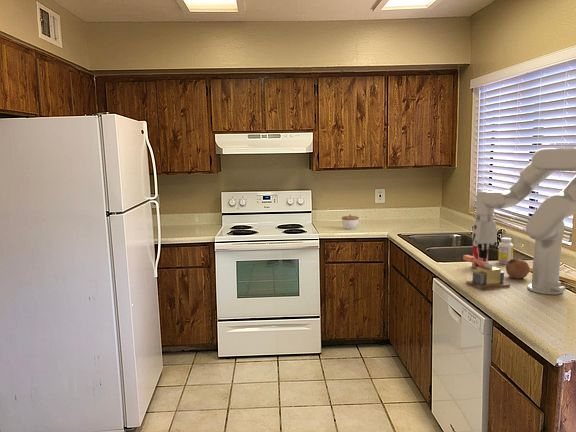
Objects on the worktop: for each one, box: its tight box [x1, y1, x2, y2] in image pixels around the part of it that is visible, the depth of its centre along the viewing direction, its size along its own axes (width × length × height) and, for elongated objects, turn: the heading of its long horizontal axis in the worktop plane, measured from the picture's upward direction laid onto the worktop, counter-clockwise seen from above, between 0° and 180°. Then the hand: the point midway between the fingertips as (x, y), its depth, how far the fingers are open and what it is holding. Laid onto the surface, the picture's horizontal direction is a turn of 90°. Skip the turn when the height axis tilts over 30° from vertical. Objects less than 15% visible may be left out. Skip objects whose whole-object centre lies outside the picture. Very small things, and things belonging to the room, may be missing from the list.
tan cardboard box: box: [471, 266, 505, 286], centre depth 191 cm, size 6×12×7 cm, turn 106°
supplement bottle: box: [498, 237, 514, 265], centre depth 227 cm, size 7×7×13 cm
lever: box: [462, 254, 494, 268], centre depth 196 cm, size 17×3×2 cm, turn 16°
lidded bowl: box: [341, 214, 360, 231], centre depth 335 cm, size 13×13×11 cm
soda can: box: [471, 243, 489, 269], centre depth 220 cm, size 7×7×13 cm
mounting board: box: [465, 280, 511, 292], centre depth 191 cm, size 10×14×1 cm
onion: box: [505, 258, 531, 280], centre depth 201 cm, size 10×9×10 cm
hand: (482, 257), depth 203 cm, fingers closed
